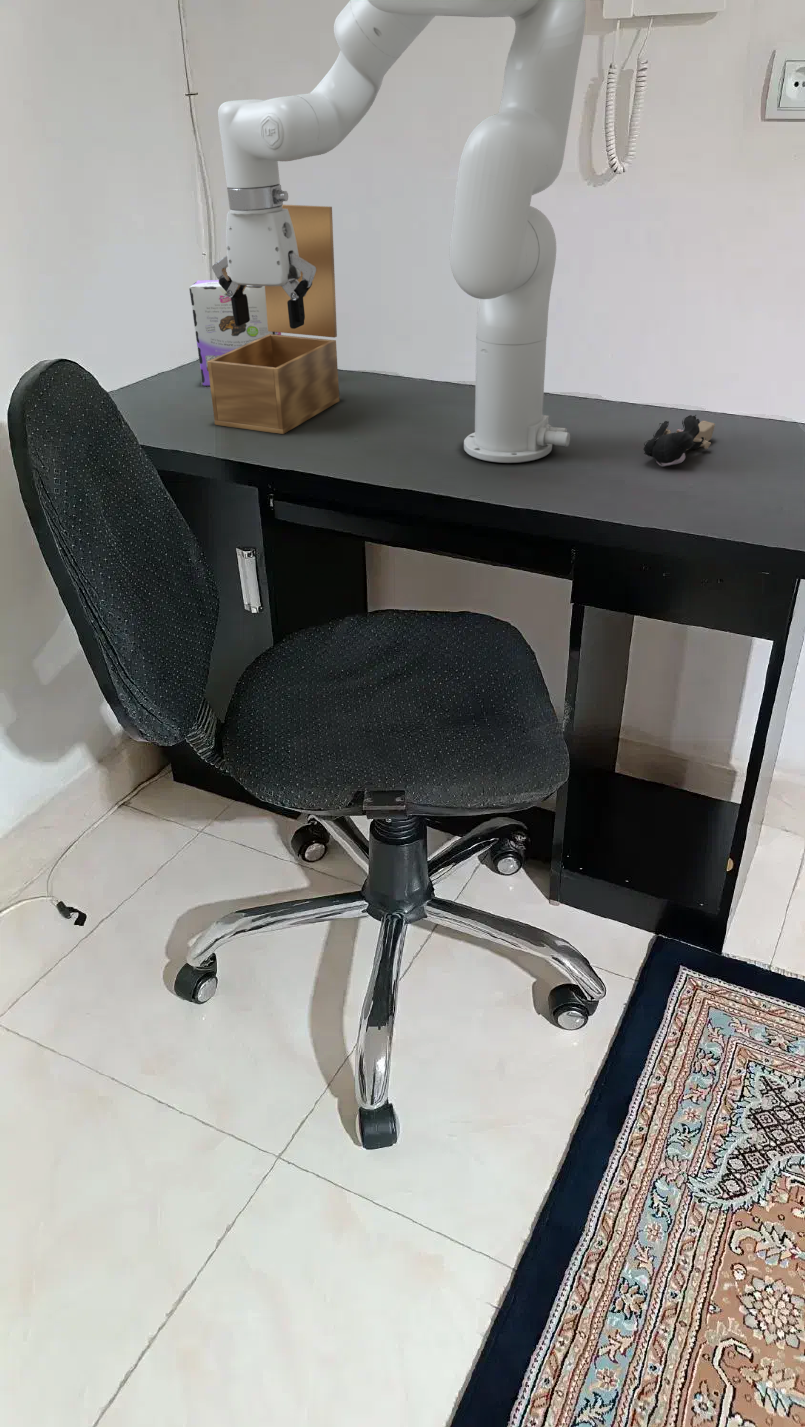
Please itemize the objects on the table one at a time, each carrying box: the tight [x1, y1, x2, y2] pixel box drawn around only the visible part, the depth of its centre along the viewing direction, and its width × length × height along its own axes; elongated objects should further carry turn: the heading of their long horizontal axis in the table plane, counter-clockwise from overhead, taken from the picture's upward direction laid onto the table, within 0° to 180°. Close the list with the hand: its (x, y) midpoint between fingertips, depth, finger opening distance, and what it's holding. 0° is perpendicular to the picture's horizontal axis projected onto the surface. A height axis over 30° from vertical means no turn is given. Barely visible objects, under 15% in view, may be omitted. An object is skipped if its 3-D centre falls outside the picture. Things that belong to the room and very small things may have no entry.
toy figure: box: [643, 414, 716, 468], centre depth 145 cm, size 7×6×15 cm
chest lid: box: [265, 204, 338, 339], centre depth 164 cm, size 19×12×5 cm
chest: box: [207, 334, 340, 435], centre depth 164 cm, size 18×12×10 cm
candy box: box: [188, 279, 282, 387], centre depth 177 cm, size 14×6×16 cm, turn 84°
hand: (269, 325), depth 158 cm, fingers open, 9 cm apart
